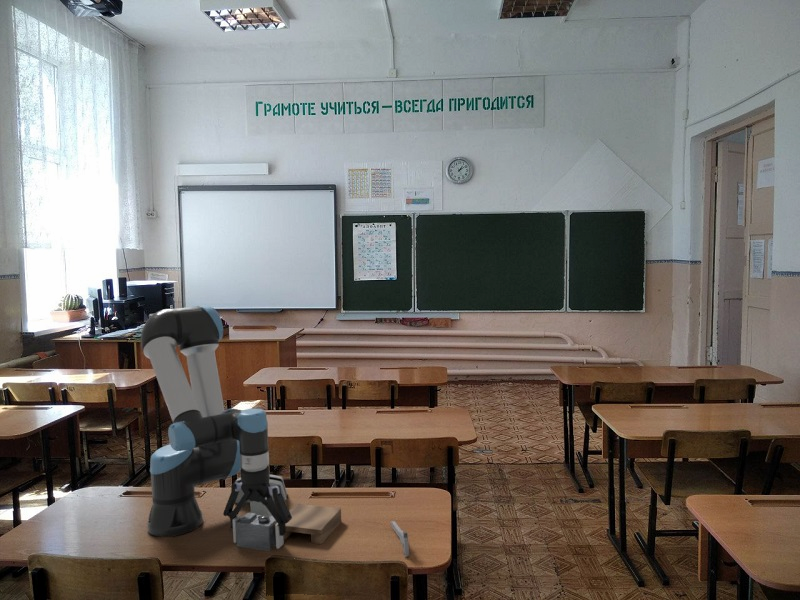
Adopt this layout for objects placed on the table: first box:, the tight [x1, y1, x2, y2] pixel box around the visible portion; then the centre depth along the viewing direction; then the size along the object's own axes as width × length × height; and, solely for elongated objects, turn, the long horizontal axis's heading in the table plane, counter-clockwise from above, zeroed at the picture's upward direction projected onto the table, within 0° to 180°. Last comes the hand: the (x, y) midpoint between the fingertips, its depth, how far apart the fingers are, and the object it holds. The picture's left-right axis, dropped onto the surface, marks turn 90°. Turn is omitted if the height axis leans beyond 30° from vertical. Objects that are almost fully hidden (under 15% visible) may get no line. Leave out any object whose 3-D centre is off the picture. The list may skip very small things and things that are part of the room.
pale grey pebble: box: [249, 494, 273, 517], centre depth 176 cm, size 6×6×8 cm
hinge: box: [235, 474, 288, 504], centre depth 192 cm, size 17×5×10 cm, turn 94°
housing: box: [236, 512, 277, 552], centre depth 163 cm, size 10×6×8 cm, turn 73°
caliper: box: [390, 520, 410, 558], centre depth 164 cm, size 20×1×6 cm, turn 12°
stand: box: [283, 503, 342, 545], centre depth 171 cm, size 14×14×4 cm
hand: (258, 543), depth 163 cm, fingers open, 12 cm apart
